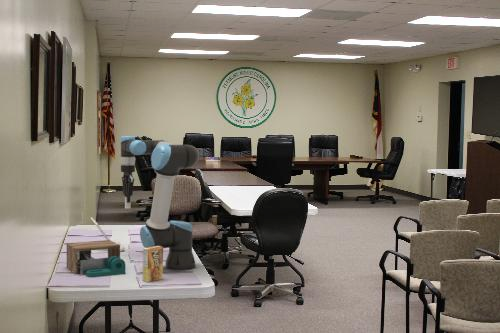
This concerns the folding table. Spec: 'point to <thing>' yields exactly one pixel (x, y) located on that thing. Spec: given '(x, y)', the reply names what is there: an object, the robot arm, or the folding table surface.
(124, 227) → the folding table surface
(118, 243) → the tablet stand
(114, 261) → the bracket
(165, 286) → the folding table surface
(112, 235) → the folding table surface
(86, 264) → the dark grey block
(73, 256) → the tunnel
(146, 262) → the candy box
